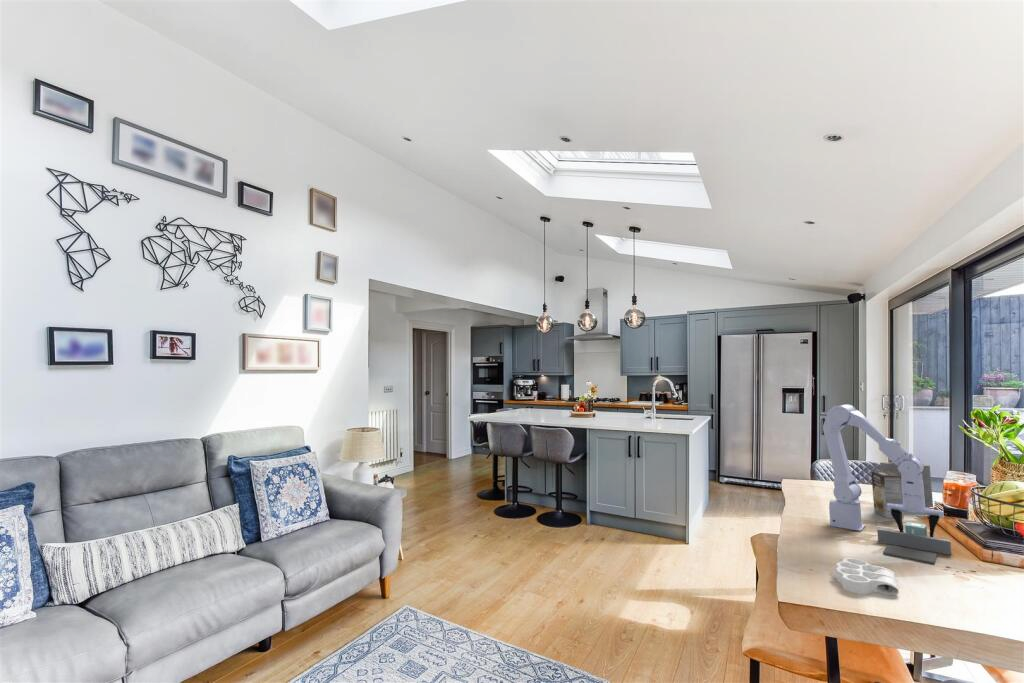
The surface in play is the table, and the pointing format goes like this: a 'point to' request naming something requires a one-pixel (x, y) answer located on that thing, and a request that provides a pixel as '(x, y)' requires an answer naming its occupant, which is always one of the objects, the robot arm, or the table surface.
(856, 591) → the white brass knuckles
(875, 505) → the coffee box
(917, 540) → the panel
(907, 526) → the letter cube
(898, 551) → the mat
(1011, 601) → the table surface
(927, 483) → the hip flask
